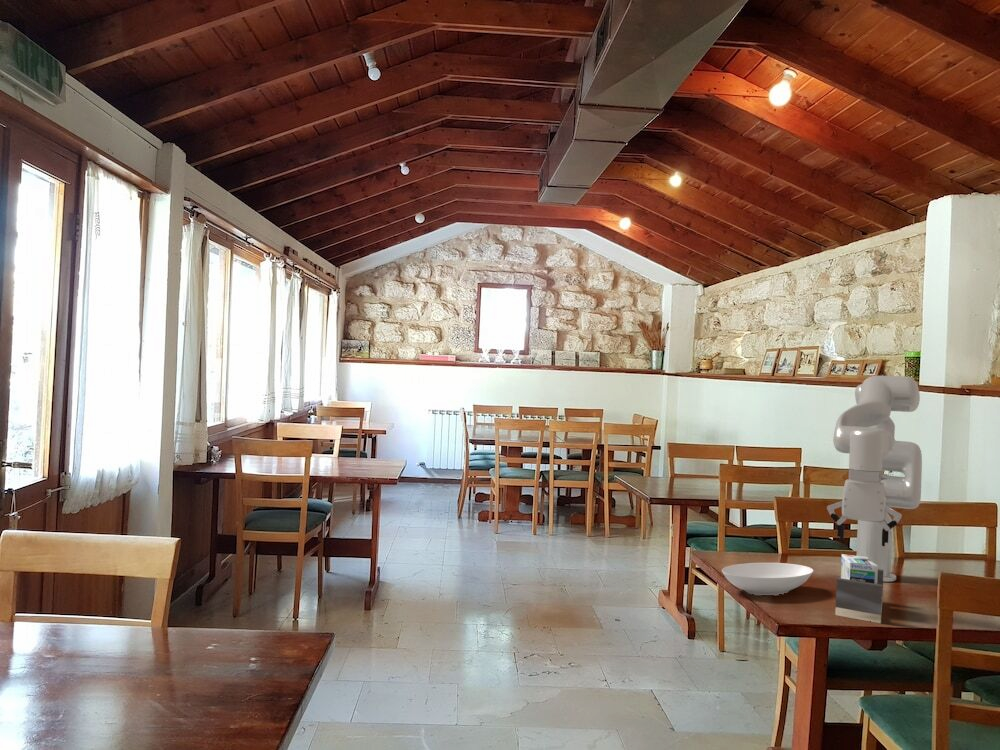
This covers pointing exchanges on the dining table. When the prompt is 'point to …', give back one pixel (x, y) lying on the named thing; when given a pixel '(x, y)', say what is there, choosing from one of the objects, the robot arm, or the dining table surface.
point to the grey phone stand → (860, 599)
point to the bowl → (767, 577)
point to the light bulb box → (858, 569)
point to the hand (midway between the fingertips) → (862, 542)
